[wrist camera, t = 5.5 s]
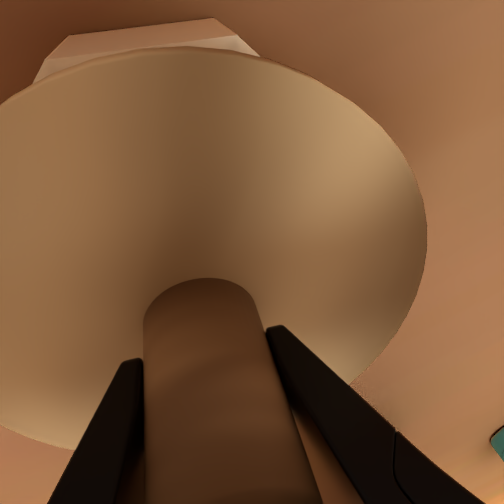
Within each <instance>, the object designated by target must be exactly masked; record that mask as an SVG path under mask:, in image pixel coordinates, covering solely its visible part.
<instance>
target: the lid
mask: <svg viewBox="0 0 504 504" xmlns="http://www.w3.org/2000/svg"><path fill="white" fill-rule="evenodd" d="M426 252H427V222H426V216H425V209H424V203H423V199H422V196H421V193H420V190H419V187H418V184H417V181H416V178H415V176H414V174H413V172H412V170H411V168H410V166H409V165H408V163H407V161H406V159H405V157H404V156H403V154H402V152H401V150H400V149H399V148H398V147H397V145H396V144H395V143H394V142H393V140H392V139H391V138H390V137H389V136H388V134H387V133H386V132H385V131H384V129H383V128H382V127H381V126H380V125H379V124H378V123H377V122H375V121H374V120H373V119H372V118H371V117H370V116H368V115H367V114H366V113H365V112H364V111H363V110H362V109H360V108H359V107H358V106H357V105H356V104H355V103H353V102H351V101H350V100H348V99H347V98H345V97H344V96H342V95H340V94H339V93H337V92H336V91H334V90H332V89H331V88H329V87H327V86H326V85H324V84H322V83H321V82H319V81H317V80H316V79H314V78H312V77H311V76H309V75H307V74H305V73H303V72H300V71H298V70H295V69H293V68H291V67H288V66H286V65H283V64H281V63H278V62H276V61H273V60H271V59H267V58H262V57H258V56H254V55H250V54H246V53H242V52H237V51H233V50H227V49H216V48H204V47H193V46H176V47H159V48H141V49H136V50H131V51H126V52H121V53H116V54H111V55H107V56H102V57H97V58H93V59H91V60H88V61H85V62H82V63H80V64H77V65H74V66H71V67H69V68H66V69H63V70H60V71H58V72H55V73H52V74H50V75H48V76H47V77H45V78H43V79H41V80H39V81H38V82H36V83H34V84H32V85H30V86H29V87H27V88H25V89H23V90H21V91H19V92H18V93H16V94H14V95H12V96H11V97H10V98H8V99H7V100H6V101H5V102H3V103H2V104H1V105H0V425H1V426H3V427H5V428H7V429H9V430H11V431H14V432H16V433H19V434H21V435H24V436H26V437H28V438H31V439H34V440H37V441H40V442H43V443H47V444H50V445H53V446H57V447H61V448H66V449H71V450H76V448H77V446H78V444H79V442H80V440H81V438H82V436H83V434H84V432H85V430H86V429H87V427H88V425H89V423H90V421H91V419H92V417H93V415H94V413H95V411H96V409H97V408H98V406H99V404H100V402H101V400H102V398H103V396H104V394H105V392H106V390H107V388H108V387H109V385H110V383H111V381H112V379H113V377H114V375H115V373H116V371H117V369H118V368H119V366H120V364H121V363H122V362H123V361H125V360H129V359H133V358H141V359H142V360H143V396H144V504H323V500H322V497H321V495H320V492H319V489H318V486H317V483H316V480H315V477H314V474H313V471H312V468H311V465H310V462H309V459H308V457H307V454H306V451H305V448H304V445H303V442H302V439H301V436H300V433H299V430H298V427H297V424H296V421H295V419H294V416H293V413H292V410H291V407H290V404H289V401H288V398H287V395H286V392H285V389H284V387H283V384H282V381H281V378H280V375H279V372H278V369H277V366H276V363H275V360H274V357H273V355H272V352H271V349H270V346H269V343H268V340H267V337H266V333H265V331H266V328H268V327H271V326H276V325H284V326H285V327H286V328H287V329H288V330H289V331H291V332H292V333H293V334H294V335H295V336H296V337H297V338H298V339H299V340H300V341H301V342H302V343H304V344H305V345H306V346H307V347H308V348H309V349H310V350H311V351H312V352H313V353H314V354H315V355H316V356H318V357H319V358H320V359H321V360H322V361H323V362H324V363H325V364H326V365H327V366H328V367H329V368H331V369H332V370H333V371H334V372H335V373H336V374H337V375H338V376H339V377H340V378H341V379H342V380H344V381H345V382H346V383H347V384H348V385H349V384H350V383H351V382H352V381H353V380H355V379H356V378H357V377H358V376H359V375H360V374H361V373H362V372H363V371H364V370H366V369H367V368H368V367H369V366H370V364H371V363H372V362H373V361H374V360H375V359H376V358H377V357H378V356H379V355H380V354H381V352H382V351H383V350H384V349H385V347H386V346H387V345H388V343H389V342H390V341H391V339H392V338H393V337H394V335H395V334H396V333H397V331H398V329H399V328H400V326H401V324H402V323H403V321H404V319H405V318H406V316H407V314H408V312H409V310H410V308H411V305H412V303H413V301H414V299H415V296H416V294H417V291H418V288H419V285H420V281H421V278H422V275H423V271H424V265H425V258H426Z"/></svg>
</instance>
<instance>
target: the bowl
mask: <svg viewBox="0 0 504 504" xmlns="http://www.w3.org/2000/svg"><path fill="white" fill-rule="evenodd" d="M176 46H193V47H204V48H216V49H227V50H233V51H237V52H242V53H246V54H250V55H254V56H258V57H260V56H259V55H258V54H257V53H256V52H255V51H254V50H253V49H252V48H251V47H249V46H248V45H247V44H246V43H245V42H244V41H243V40H242V39H241V38H240V37H239V36H238V35H237V34H236V33H234V32H233V31H232V30H230V29H229V28H227V27H226V26H225V25H223V24H222V23H220V22H219V21H217V20H216V19H215V18H213V17H212V18H208V19H200V20H192V21H184V22H176V23H168V24H160V25H151V26H143V27H135V28H127V29H119V30H111V31H102V32H94V33H86V34H78V35H69V36H68V37H67V38H66V39H65V40H63V41H62V42H61V43H60V44H59V45H58V46H57V47H56V48H55V49H54V50H53V51H52V52H51V53H50V54H49V55H48V56H47V57H46V58H45V59H44V62H43V64H42V66H41V68H40V70H39V72H38V74H37V76H36V78H35V79H34V81H33V83H32V84H34V83H36V82H38V81H39V80H41V79H43V78H45V77H47V76H48V75H50V74H52V73H55V72H58V71H60V70H63V69H66V68H69V67H71V66H74V65H77V64H80V63H82V62H85V61H88V60H91V59H93V58H97V57H102V56H107V55H111V54H116V53H121V52H126V51H131V50H136V49H141V48H159V47H176Z"/></svg>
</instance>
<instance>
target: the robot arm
mask: <svg viewBox="0 0 504 504" xmlns="http://www.w3.org/2000/svg"><path fill="white" fill-rule="evenodd" d="M265 333H266V337H267V340H268V343H269V346H270V349H271V352H272V355H273V357H274V360H275V363H276V366H277V369H278V372H279V375H280V378H281V381H282V384H283V387H284V389H285V392H286V395H287V398H288V401H289V404H290V407H291V410H292V413H293V416H294V419H295V421H296V424H297V427H298V430H299V433H300V436H301V439H302V442H303V445H304V448H305V451H306V454H307V457H308V459H309V462H310V465H311V468H312V471H313V474H314V477H315V480H316V483H317V486H318V489H319V492H320V495H321V497H322V500H323V504H485V503H484V502H483V501H481V500H480V499H479V498H477V497H476V496H475V495H473V494H472V493H471V492H469V491H468V490H467V489H466V488H464V487H463V486H462V485H460V484H459V483H458V482H457V481H455V480H454V479H453V478H452V477H450V476H449V475H448V474H447V473H445V472H444V471H443V470H442V469H440V468H439V467H438V466H437V465H436V464H434V463H433V462H432V461H431V460H430V459H429V458H428V457H426V456H425V455H424V454H423V453H422V452H421V451H420V450H418V449H417V448H416V447H415V446H414V445H413V444H412V443H411V442H410V441H409V440H407V439H406V438H405V437H404V436H403V435H402V434H401V433H400V432H399V431H396V430H395V428H394V427H393V426H392V425H391V424H390V423H389V422H388V421H387V420H386V419H385V418H384V417H382V416H381V415H380V414H379V413H378V412H377V411H376V410H375V409H374V408H373V407H372V406H371V405H369V404H368V403H367V402H366V401H365V400H364V399H363V398H362V397H361V396H360V395H359V394H358V393H356V392H355V391H354V390H353V389H352V388H351V387H350V386H349V385H348V384H347V383H346V382H345V381H344V380H342V379H341V378H340V377H339V376H338V375H337V374H336V373H335V372H334V371H333V370H332V369H331V368H329V367H328V366H327V365H326V364H325V363H324V362H323V361H322V360H321V359H320V358H319V357H318V356H316V355H315V354H314V353H313V352H312V351H311V350H310V349H309V348H308V347H307V346H306V345H305V344H304V343H302V342H301V341H300V340H299V339H298V338H297V337H296V336H295V335H294V334H293V333H292V332H291V331H289V330H288V329H287V328H286V327H285V326H284V325H276V326H271V327H268V328H266V331H265ZM395 432H396V433H395ZM47 504H144V396H143V360H142V359H141V358H133V359H129V360H125V361H123V362H122V363H121V364H120V366H119V368H118V369H117V371H116V373H115V375H114V377H113V379H112V381H111V383H110V385H109V387H108V388H107V390H106V392H105V394H104V396H103V398H102V400H101V402H100V404H99V406H98V408H97V409H96V411H95V413H94V415H93V417H92V419H91V421H90V423H89V425H88V427H87V429H86V430H85V432H84V434H83V436H82V438H81V440H80V442H79V444H78V446H77V448H76V450H75V451H74V453H73V455H72V457H71V459H70V461H69V463H68V465H67V467H66V469H65V471H64V472H63V474H62V476H61V478H60V480H59V482H58V484H57V486H56V488H55V490H54V491H53V493H52V495H51V497H50V499H49V501H48V503H47Z"/></svg>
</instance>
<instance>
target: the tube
mask: <svg viewBox="0 0 504 504" xmlns="http://www.w3.org/2000/svg"><path fill="white" fill-rule="evenodd" d="M491 445H492V446H493V448H494V449H495V451H496V452H497V453H498V455H499V456H500V457H501V458H502V460H503V461H504V427H503V428H502V429H501V430H500V431H499V432H497V433H496V434H495V435H494V436H493V437H492V438H491Z"/></svg>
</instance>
